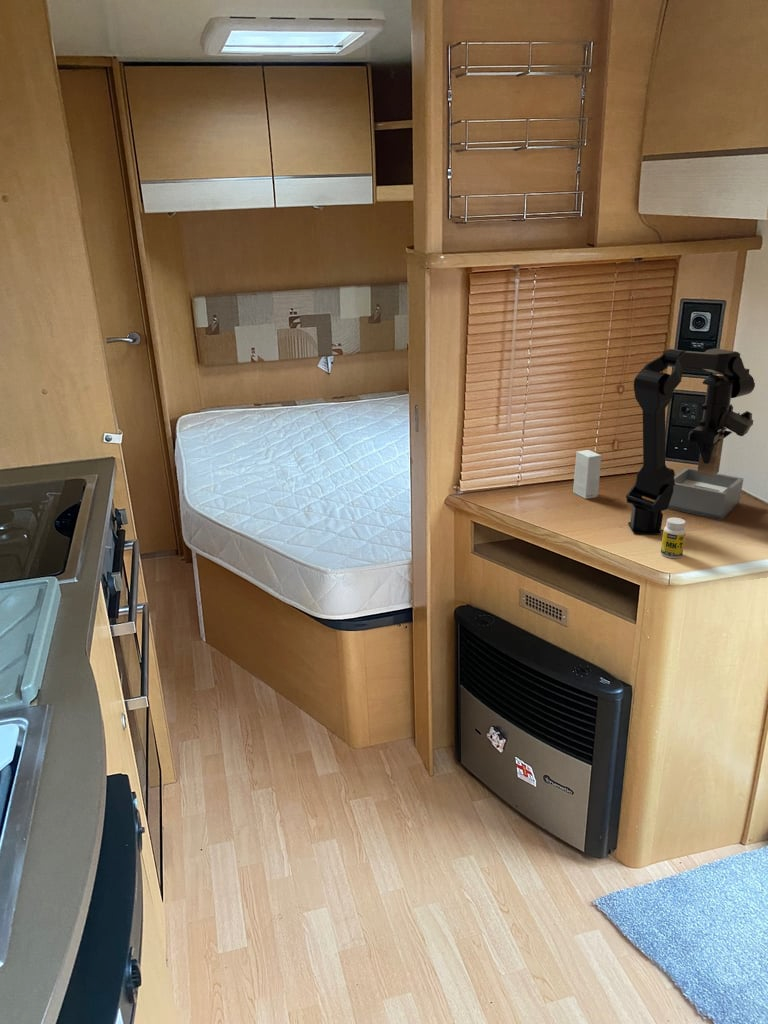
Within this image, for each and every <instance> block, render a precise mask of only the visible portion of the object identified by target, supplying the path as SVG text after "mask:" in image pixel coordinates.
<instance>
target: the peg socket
mask: <svg viewBox="0 0 768 1024" xmlns="http://www.w3.org/2000/svg"><path fill="white" fill-rule="evenodd" d="M697 471H698V468H697V469H695V468H691V467H684V468H683V469H682V470H680V471H679V472H678V473H676V474H675V475H674V482H675V485H673V487H674V488H673V494H672V497H671V500H670V503H669V505H668V508H667V509H669V510H674V511H679V512H683V513H686V514H692V515H695V516H696V515H697V516H701V517H704V516H705V517H706V518H708V517H709V519H714V520H718V521H722V520H723V519H724V518H725V517H727V515H728V514H729V513H731V511H733V510H734V509H736V507H737V506H738V505H739V504H740V501H741V497H742V496H741V495H742V490H743V485H744V478H743V477H738V476H732V475H729V474H728V475H726V474H722V473H719V472H718V473H717V474H715V475H714V476H709V475H704V474H699V473H697ZM705 517H704V518H705Z"/></svg>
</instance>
